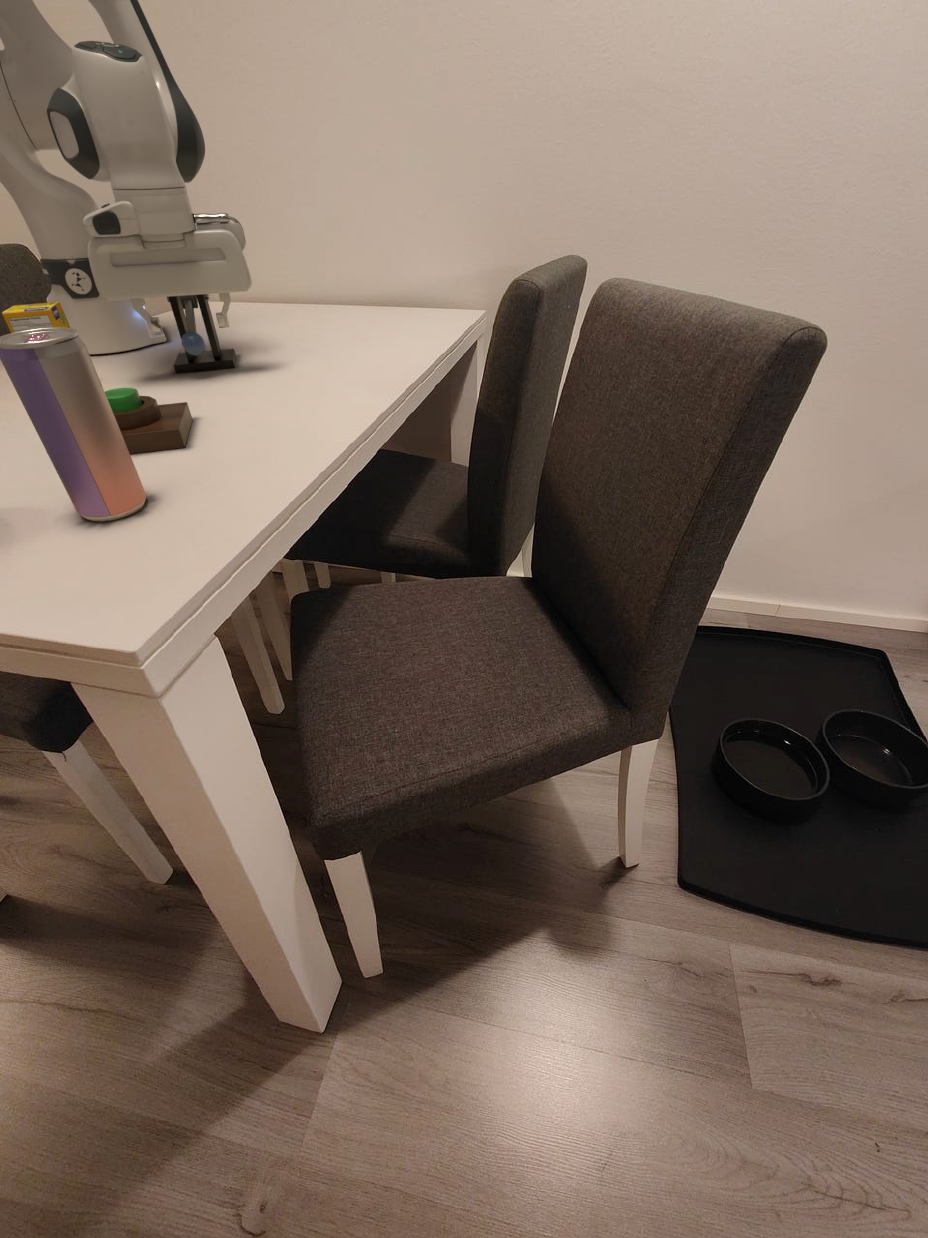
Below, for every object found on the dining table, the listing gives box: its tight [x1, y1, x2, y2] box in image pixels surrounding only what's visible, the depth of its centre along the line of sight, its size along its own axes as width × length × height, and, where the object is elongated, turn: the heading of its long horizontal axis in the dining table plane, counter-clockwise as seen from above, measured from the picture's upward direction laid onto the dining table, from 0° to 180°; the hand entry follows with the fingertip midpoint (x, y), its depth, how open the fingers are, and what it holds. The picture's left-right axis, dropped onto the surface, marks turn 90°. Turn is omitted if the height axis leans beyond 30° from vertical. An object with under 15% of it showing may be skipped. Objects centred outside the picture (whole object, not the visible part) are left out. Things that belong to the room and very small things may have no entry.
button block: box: [113, 395, 193, 455], centre depth 66 cm, size 10×12×4 cm
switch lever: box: [179, 295, 206, 356], centre depth 86 cm, size 13×3×3 cm, turn 16°
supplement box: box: [2, 302, 71, 333], centre depth 81 cm, size 6×6×11 cm
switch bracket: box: [166, 294, 237, 374], centre depth 90 cm, size 8×9×12 cm
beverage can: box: [0, 327, 147, 522], centre depth 49 cm, size 6×6×15 cm
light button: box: [104, 387, 143, 412], centre depth 65 cm, size 4×4×2 cm
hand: (191, 329), depth 84 cm, fingers open, 8 cm apart
